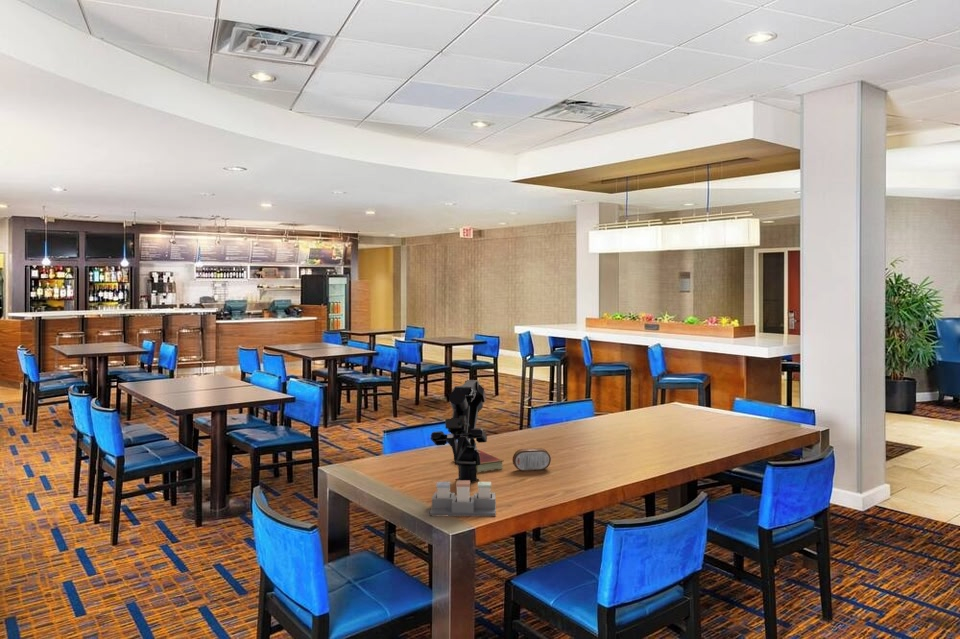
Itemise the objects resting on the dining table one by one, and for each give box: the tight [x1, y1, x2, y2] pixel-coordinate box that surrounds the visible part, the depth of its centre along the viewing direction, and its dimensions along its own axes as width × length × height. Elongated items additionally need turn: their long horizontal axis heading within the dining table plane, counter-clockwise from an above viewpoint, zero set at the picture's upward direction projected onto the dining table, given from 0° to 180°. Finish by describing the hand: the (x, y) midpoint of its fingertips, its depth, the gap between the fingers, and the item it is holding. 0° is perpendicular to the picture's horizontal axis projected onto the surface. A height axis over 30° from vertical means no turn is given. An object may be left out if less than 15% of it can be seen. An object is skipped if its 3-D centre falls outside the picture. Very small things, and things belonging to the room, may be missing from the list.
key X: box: [455, 480, 471, 502], centre depth 207 cm, size 4×4×7 cm
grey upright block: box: [435, 481, 452, 498], centre depth 211 cm, size 4×4×7 cm
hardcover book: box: [453, 448, 504, 473], centre depth 265 cm, size 12×21×4 cm, turn 27°
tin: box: [512, 447, 552, 472], centre depth 257 cm, size 15×3×8 cm, turn 100°
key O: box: [477, 481, 492, 498], centre depth 211 cm, size 4×4×7 cm
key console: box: [429, 492, 497, 517], centre depth 209 cm, size 11×20×4 cm, turn 88°
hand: (456, 460), depth 220 cm, fingers closed
